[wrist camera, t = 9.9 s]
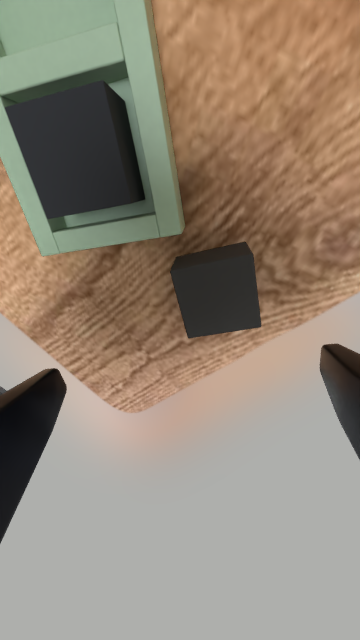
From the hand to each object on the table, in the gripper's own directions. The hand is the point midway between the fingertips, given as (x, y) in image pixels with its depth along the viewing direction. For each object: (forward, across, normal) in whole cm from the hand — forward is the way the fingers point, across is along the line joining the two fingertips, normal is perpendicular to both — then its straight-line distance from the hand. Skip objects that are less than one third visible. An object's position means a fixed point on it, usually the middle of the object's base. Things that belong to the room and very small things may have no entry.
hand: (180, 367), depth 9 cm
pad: (+9, +4, -7) cm, 12 cm away
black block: (+10, -1, +1) cm, 10 cm away
